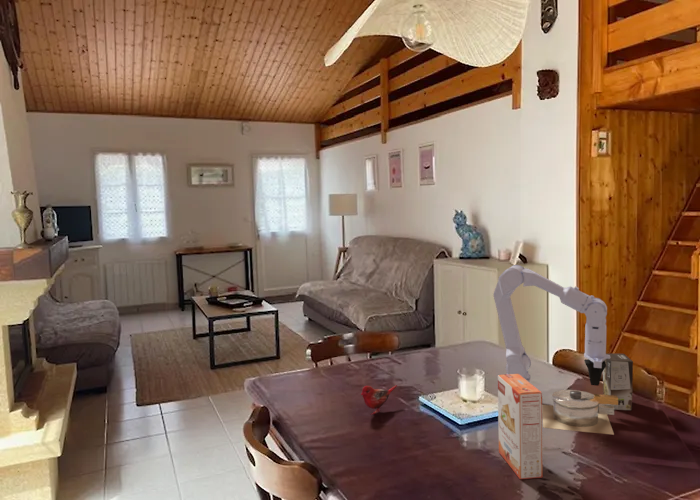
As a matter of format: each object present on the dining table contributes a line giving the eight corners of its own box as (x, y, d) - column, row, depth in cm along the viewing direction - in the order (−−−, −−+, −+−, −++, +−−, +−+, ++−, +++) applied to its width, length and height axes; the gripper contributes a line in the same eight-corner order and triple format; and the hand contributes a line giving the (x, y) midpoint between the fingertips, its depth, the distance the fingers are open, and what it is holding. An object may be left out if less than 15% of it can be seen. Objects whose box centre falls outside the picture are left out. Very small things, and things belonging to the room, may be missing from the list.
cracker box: (496, 453, 140) (496, 373, 138) (519, 451, 140) (519, 372, 138) (518, 480, 126) (518, 392, 124) (543, 478, 126) (543, 391, 125)
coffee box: (632, 414, 162) (633, 361, 161) (609, 413, 164) (610, 360, 162) (624, 403, 171) (624, 353, 170) (602, 402, 173) (602, 352, 171)
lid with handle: (554, 406, 153) (554, 398, 152) (550, 391, 165) (550, 383, 165) (621, 411, 148) (621, 402, 148) (613, 395, 160) (613, 387, 160)
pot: (554, 424, 154) (554, 407, 153) (552, 409, 165) (552, 393, 165) (616, 430, 149) (616, 412, 148) (610, 414, 160) (610, 397, 160)
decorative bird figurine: (357, 418, 164) (357, 386, 164) (394, 402, 177) (393, 372, 176) (365, 421, 162) (364, 388, 162) (401, 404, 175) (400, 374, 174)
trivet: (543, 431, 152) (543, 427, 152) (541, 408, 169) (541, 404, 169) (614, 438, 146) (614, 434, 146) (605, 413, 163) (605, 410, 163)
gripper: (613, 347, 153) (612, 394, 154) (607, 335, 167) (606, 378, 168) (586, 345, 155) (585, 391, 156) (582, 333, 169) (581, 376, 170)
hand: (594, 384), depth 162 cm, fingers closed
